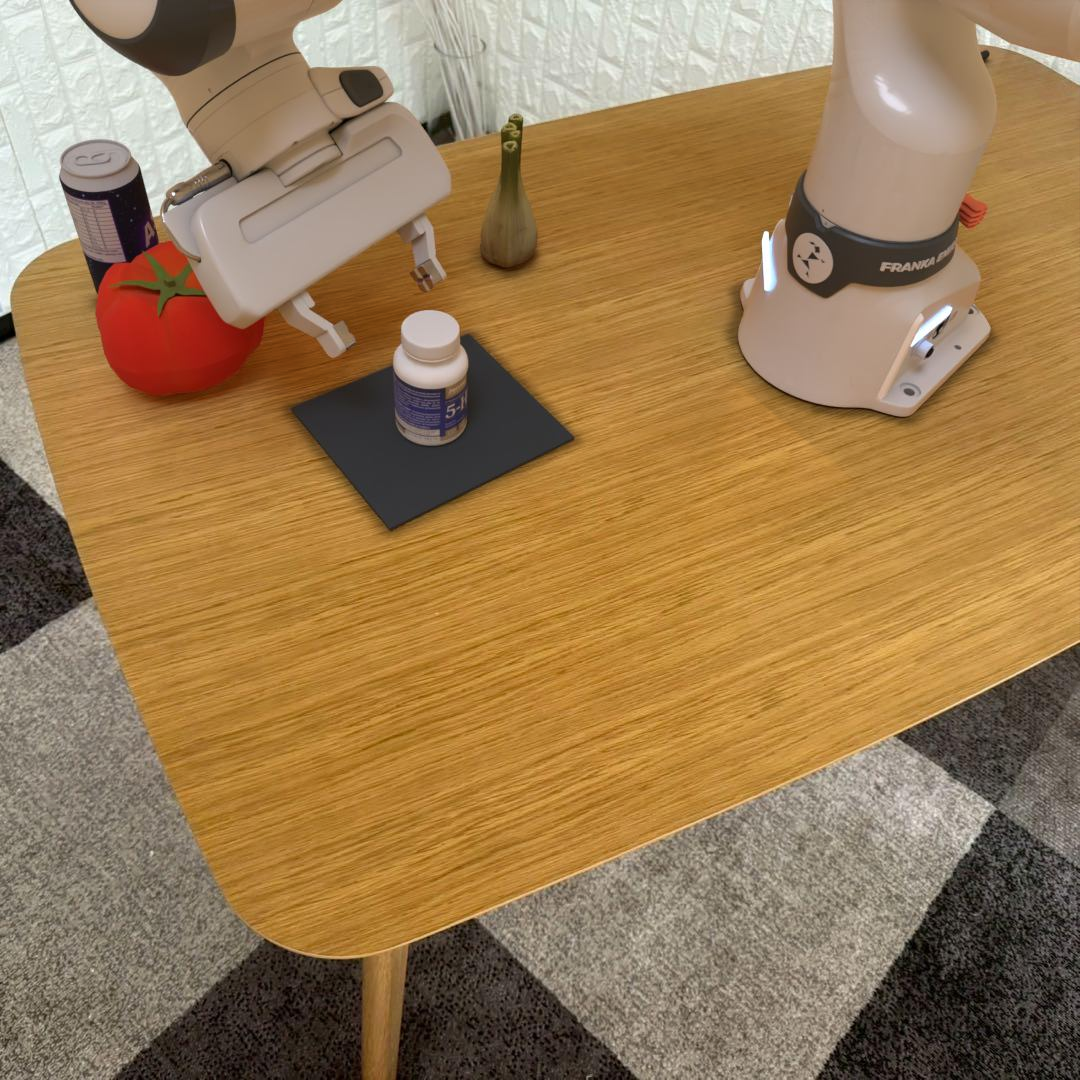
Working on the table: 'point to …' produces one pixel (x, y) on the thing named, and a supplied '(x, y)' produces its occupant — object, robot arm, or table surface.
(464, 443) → the mat
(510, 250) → the fennel bulb
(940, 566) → the table surface
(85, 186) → the beverage can
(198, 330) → the tomato
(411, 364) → the pill bottle
